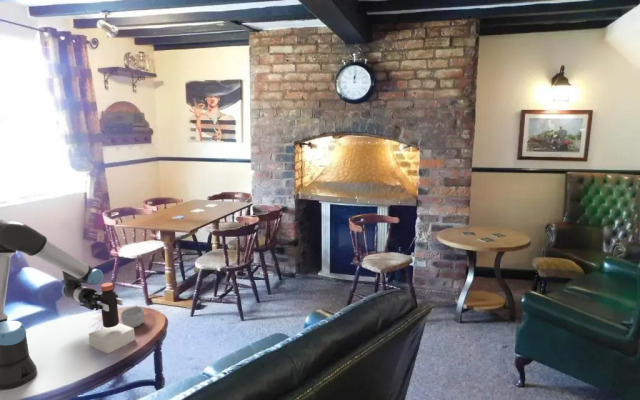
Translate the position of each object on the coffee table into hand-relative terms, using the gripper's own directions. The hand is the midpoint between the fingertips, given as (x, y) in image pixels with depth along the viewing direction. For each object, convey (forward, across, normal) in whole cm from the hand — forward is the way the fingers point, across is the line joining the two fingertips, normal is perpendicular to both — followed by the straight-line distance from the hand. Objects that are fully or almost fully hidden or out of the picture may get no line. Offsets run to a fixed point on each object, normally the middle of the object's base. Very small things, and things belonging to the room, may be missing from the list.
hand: (114, 305), depth 198 cm
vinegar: (-5, 0, -11) cm, 12 cm away
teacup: (-12, -17, -20) cm, 29 cm away
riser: (-5, 0, -20) cm, 21 cm away
